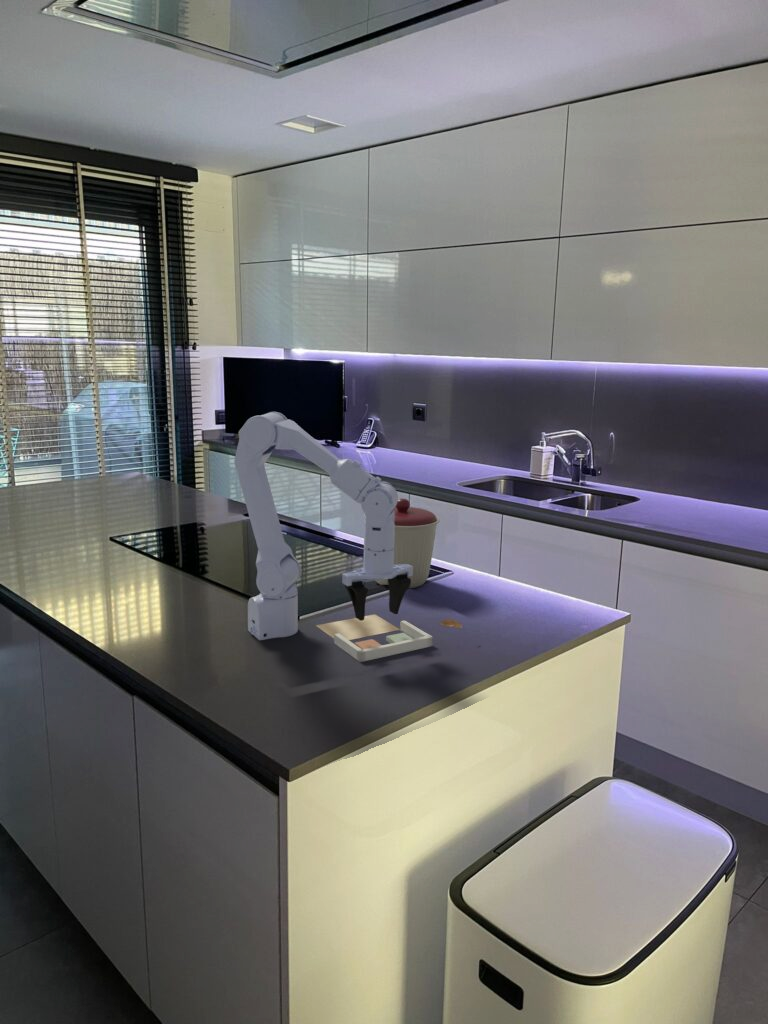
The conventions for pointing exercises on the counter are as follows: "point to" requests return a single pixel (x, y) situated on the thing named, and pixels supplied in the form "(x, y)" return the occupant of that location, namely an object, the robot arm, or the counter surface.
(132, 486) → the counter surface
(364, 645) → the terracotta tile
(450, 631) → the counter surface
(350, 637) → the maple board
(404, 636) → the sage tile
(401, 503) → the canister
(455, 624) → the shard
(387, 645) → the tray
